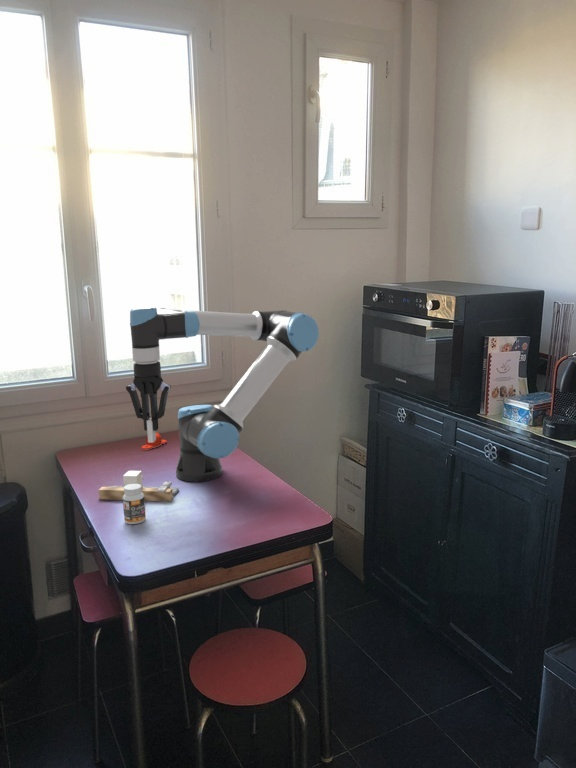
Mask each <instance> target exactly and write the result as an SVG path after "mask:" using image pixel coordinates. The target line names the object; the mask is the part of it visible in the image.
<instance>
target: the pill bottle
mask: <svg viewBox="0 0 576 768" xmlns="http://www.w3.org/2000/svg"><path fill="white" fill-rule="evenodd" d="M141 490H142V487H141V485H140V484H129V485H126V486H125V487H124V492H125V494H124V496H123V500H122V505H123V517H124V522H125V523H126V524H128V525H137V524H141V523H143V522H144V521H145V520H146V516H147V515H146V514H147V513H146V505H145V503H146V501H145V499H144V494H143V493H142V492H141Z"/></svg>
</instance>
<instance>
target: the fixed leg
mask: <svg viewBox="0 0 576 768" xmlns="http://www.w3.org/2000/svg"><path fill="white" fill-rule="evenodd" d="M159 487H160V488H159V489H158V490H157V491H158V492H165V491H166V489H170V487H172V481H171V480H170V481H167V480H166V481H164V482H163V483H162V485H160V486H159Z"/></svg>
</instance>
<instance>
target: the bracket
mask: <svg viewBox="0 0 576 768" xmlns="http://www.w3.org/2000/svg"><path fill="white" fill-rule="evenodd" d="M161 441H162V442H161ZM165 442H167V440H166V439H162V436H161V434H159V433H158V432H156V440H155V441H154V442H153V443H149V442H148V435H147V436H146V444H144V445H142V446H141V450H142V449H150V448H152V447H155V446H158V445H160V444H162V443H165Z"/></svg>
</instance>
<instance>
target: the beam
mask: <svg viewBox="0 0 576 768" xmlns="http://www.w3.org/2000/svg"><path fill="white" fill-rule="evenodd" d="M158 489H159V488H142V490H141V492H142V493H143V494H144V499H145V502H147V501H148V502H171V501H172V500H173V499H174V496H173V494H172V489H166V491H165V492H158V491H157V490H158ZM124 494H125V492H124V487H110V486H101V487H100V488H99V489H98V498H99V499H98V500H112V501H113V500H117V501H123V496H124Z"/></svg>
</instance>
